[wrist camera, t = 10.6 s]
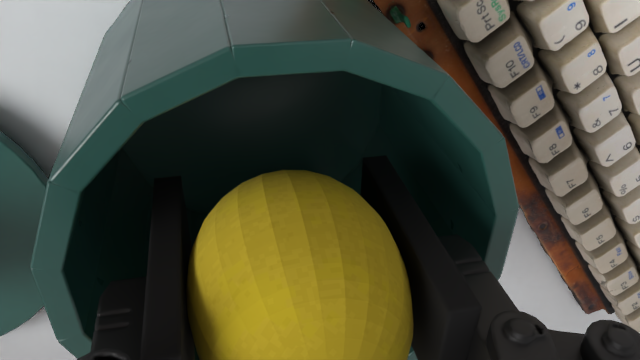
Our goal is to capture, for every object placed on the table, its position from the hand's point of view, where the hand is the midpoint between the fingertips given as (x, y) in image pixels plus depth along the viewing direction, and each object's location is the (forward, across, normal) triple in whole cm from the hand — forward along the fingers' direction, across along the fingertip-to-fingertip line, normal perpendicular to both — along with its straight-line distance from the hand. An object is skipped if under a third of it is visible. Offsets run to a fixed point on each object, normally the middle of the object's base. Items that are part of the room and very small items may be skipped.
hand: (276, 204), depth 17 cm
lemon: (+1, 0, 0) cm, 1 cm away
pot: (+7, 0, 0) cm, 7 cm away
